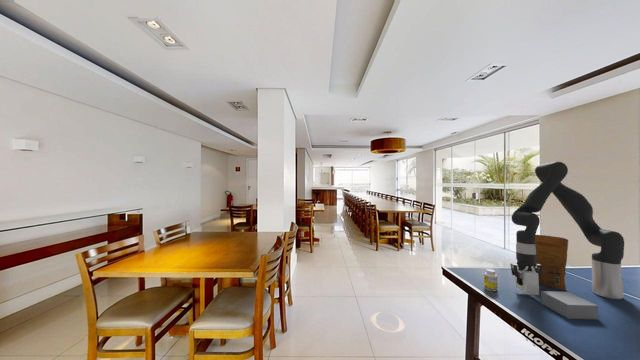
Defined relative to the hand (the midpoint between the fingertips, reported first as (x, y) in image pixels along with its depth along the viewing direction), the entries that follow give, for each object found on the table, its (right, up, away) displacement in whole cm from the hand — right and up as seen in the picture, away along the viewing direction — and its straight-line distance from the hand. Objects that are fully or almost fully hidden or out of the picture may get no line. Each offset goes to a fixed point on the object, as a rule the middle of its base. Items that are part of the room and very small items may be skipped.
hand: (526, 284), depth 113 cm
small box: (0, -3, 0) cm, 3 cm away
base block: (+6, -6, -13) cm, 16 cm away
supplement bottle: (-13, -6, +7) cm, 16 cm away
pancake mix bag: (+22, -6, +13) cm, 27 cm away
